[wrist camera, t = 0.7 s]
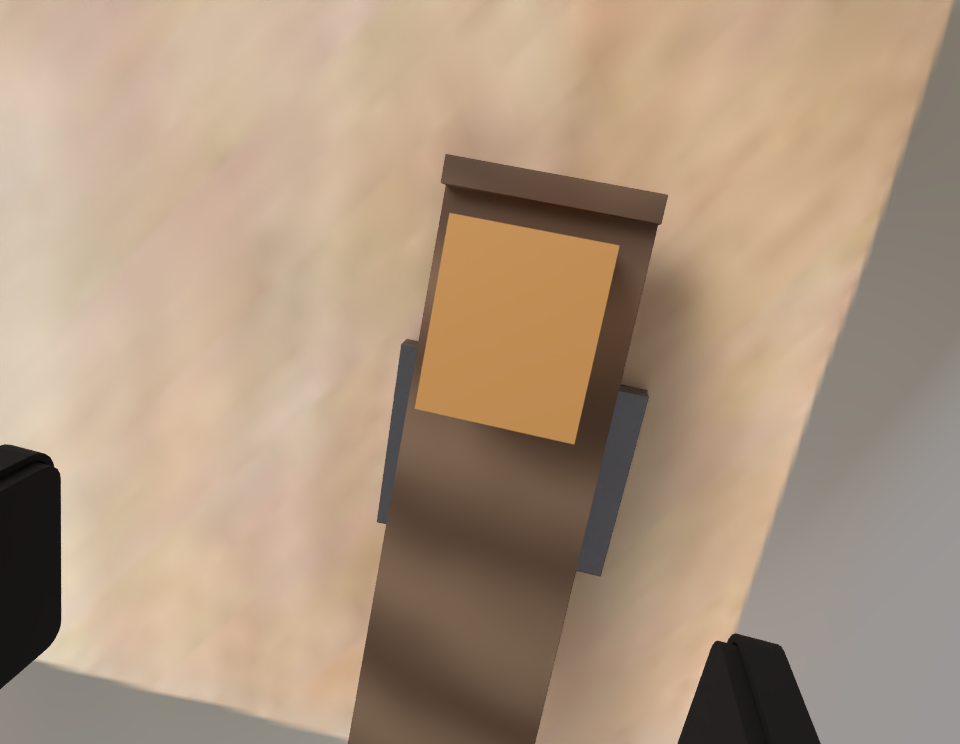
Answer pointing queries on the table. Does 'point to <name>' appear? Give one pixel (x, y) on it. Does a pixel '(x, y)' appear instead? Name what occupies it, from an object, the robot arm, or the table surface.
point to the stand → (610, 474)
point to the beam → (494, 501)
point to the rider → (515, 327)
